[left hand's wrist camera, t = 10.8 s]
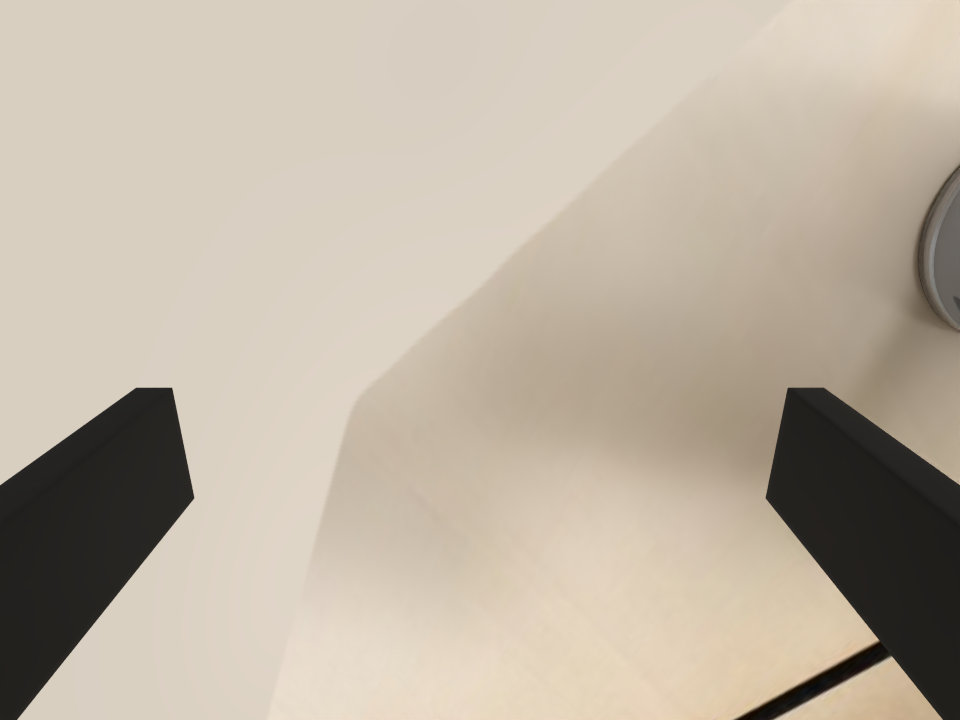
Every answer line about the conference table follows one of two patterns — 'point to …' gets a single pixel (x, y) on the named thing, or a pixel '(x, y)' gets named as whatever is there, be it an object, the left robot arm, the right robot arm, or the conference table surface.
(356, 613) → the conference table surface
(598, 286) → the conference table surface
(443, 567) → the conference table surface
